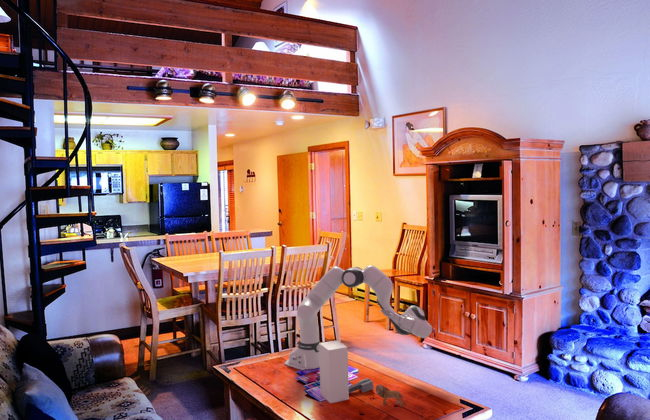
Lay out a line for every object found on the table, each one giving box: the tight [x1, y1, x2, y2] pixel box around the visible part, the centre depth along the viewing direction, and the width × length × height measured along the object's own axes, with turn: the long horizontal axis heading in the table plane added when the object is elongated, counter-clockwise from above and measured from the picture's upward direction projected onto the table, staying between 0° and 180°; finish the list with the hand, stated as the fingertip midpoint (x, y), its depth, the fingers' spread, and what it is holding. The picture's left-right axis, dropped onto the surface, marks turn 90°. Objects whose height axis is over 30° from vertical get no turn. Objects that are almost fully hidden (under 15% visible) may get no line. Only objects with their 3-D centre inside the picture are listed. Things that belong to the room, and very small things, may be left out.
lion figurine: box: [375, 384, 407, 408], centre depth 237 cm, size 15×5×9 cm, turn 76°
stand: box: [319, 339, 350, 404], centre depth 247 cm, size 10×12×26 cm
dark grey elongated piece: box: [349, 377, 375, 394], centre depth 252 cm, size 18×5×4 cm, turn 113°
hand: (386, 312), depth 258 cm, fingers open, 8 cm apart
